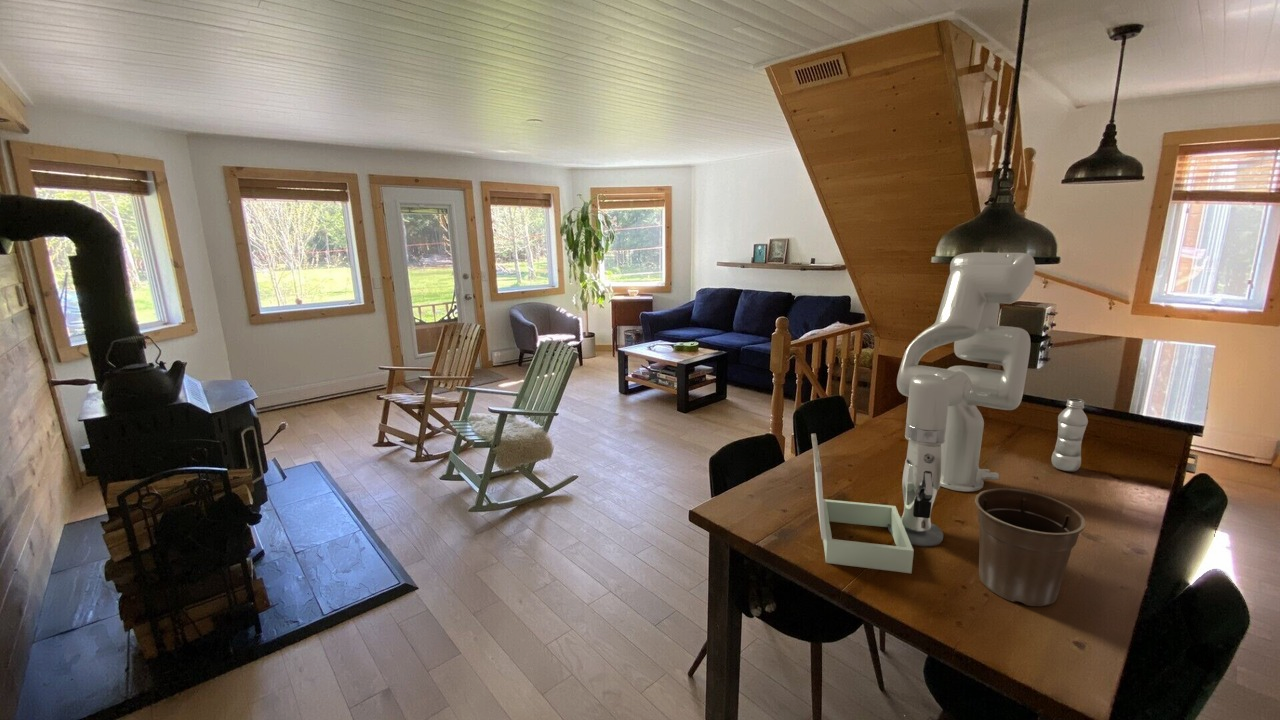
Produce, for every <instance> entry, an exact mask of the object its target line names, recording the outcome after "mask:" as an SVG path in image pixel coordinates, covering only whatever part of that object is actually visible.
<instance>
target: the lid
mask: <svg viewBox="0 0 1280 720" xmlns="http://www.w3.org/2000/svg"><path fill="white" fill-rule="evenodd" d="M810 436H811V437H810V438H811V444H812V451H813V454H812V455H813V466H814V483H815V494H816V503H817V504H816V505H817V506H816V507H817V512H818V514H817V515H818V520H819V528H820V538H821V540H822V541H823V540H826V535H825V520H824V504H823V499H824V493H823V477H822V475H823V474H822V464H821V459H820V451H819V445H818V440H817V439H818V438H817V434H816V433H811V434H810Z"/></svg>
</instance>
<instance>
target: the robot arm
mask: <svg viewBox="0 0 1280 720" xmlns="http://www.w3.org/2000/svg"><path fill="white" fill-rule="evenodd" d="M1035 272H1036V261H1035V259H1034V257H1033V255H1031V254H1029V253H1026V252H988V251H987V252H985V251H983V252H982V251H981V252H980V251H979V252H978V251H977V252H976V251H975V252H966V253H961V254H960V253H959V254H957V255H955V256H954V257H953V258H951V261H950V265H949V276H948V277H947V281H946V286H945V288H944V292H943V294H942V298H941V301H940V305H939V309H938V313H937V316H936V319H935V322H934V323H933V324H932V325H930V326H929V327H927V328H926V329H924V330H923V331H922V332H921V333H919V334H917V336H916V337H915V338H913V340H912V341H911V342H910V343H909V344H908V346H907V347H906V349H905V351H904V352H903V353H904V354H903V357H902V359H901V362H900V364H899V365H900V366H899V368H898V369H899V370H898V373H897V377H896V387H897V390H898V392H899V393H900V394H901V395H902V396H905V397H908V399H907V410H906V420H905V429H904V430H905V432H904V437H905V439H906V440H907V441H908V444H907V451H906V459H907V458H908V463H909V464H910V465H912V466H913V467H912V472H913V485H914V486H915V487H916V488H917V491H916V499H914V509H913V515H914V517H920V518H930V519H931V514H930V512H931V513H932V509H931V503H932V496H933V488H932V486H933V487H934V489H936V490H937V491H938V490H940V488H941V487H942V488H944V489H948V490H951V491H956V492H964V493H965V492H969V493H970V492H977V491H980V490H981V489H983V488H984V481H985V480H991V481H998V480H1000V475H999V472H995V471H994V472H991V471H990V469H989V468H988V469H987V468H980V467H979V465H980V464H979V463H980V458H981V447H982V441H983V433H984V426H985V421H984V418H983V415H982V413H981V411H980V410H979V408H978V406H979V407H985V408H990V409H998V410H1002V411H1003V410H1004V411H1012V410H1013V411H1014V410H1016V409H1017V408H1018V407H1019V406H1020V404H1021V402H1022V399H1023V396H1024V390H1025V385H1026V377H1027V371H1028V367H1029V361H1030V353H1031V347H1032V346H1031V336H1030V334H1029V333H1028V331H1027V330H1025V329H1024V328H1021V327H1017V326H1006V325H1005V326H1004V325H999V324H998V319H999V313H1000V310H1001V307H1000V306H1001V305H1000V304H1008V305H1009V304H1013V303H1016V302H1018V301H1019V300H1020V298H1021V297H1022V296H1023V295H1024V293H1025V292H1026V290H1027V288H1028V287H1029V286H1030V285H1031V283H1032V281H1033V278H1034V276H1035ZM951 343H953V352H954V354H955V356H956V357H957V358H959V359H961V360H965V361H969V362H977V363H985V364H991V365H1000V366H1002V368H1003V370H1000V369H994V368H993V369H991V368H985V367H979V366H970V365H953V366H950V367H948V368H941V367H937V366H935V367H934V366H929V365H928V366H927V365H921V364H920V365H919V362H920V360H921V359H922V357H924V355H926V354H927V353H928V352H929V351H931V350H933V349H935V348H939V347H941V346H944V345H947V344H951ZM923 479H924V486H919V483H920V484H921V482H922V481H923ZM932 483H933V484H932ZM920 489H925V490H924V493H921V495H920Z"/></svg>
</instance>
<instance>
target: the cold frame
mask: <svg viewBox="0 0 1280 720" xmlns="http://www.w3.org/2000/svg"><path fill="white" fill-rule="evenodd" d="M823 504H824V520H825V535H826V540H822V545H823V550H824V551H823V552H824V556H825V557H824V558H825V563H826V564H833V565H839V566H849V567H855V568H856V567H858V568H865V569H866V568H867V569H872V570H880V571H889V572H897V573H898V572H899V573H904V574H905V573H906V574H912V572H913V562H914V561H913V560H914V552H915V551H914V547H913V545H912V544H911V543H910V540H909V538H908V535H907V533H906V531H905V528H904V526H903V523H902V521H901V518H900V517H901V516H900V514H899V512H898V508H897V507H896V505H890V504H878V503H867V502H855V501H847V500H835V499H824V498H823ZM831 522H832V523H842V524H851V525H853V524H854V525H862V526H872V527H882V528H888V524H890V526H891V528H892V531H893V535H892V538H893V540H894V543H895V545H890V544H889V545H888V544H881V543H880V544H879V543H870V542H861V541H856V540H855V541H852V540H843V539H835V538H833V537H832V536H833V535H832V530H831V524H830V523H831Z"/></svg>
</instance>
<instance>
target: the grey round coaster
mask: <svg viewBox="0 0 1280 720" xmlns="http://www.w3.org/2000/svg"><path fill="white" fill-rule="evenodd" d="M900 518H902V516H900ZM904 528H905V527H904ZM887 530H888V532H889V534H891V536H893V531H892V528H891V526H890V524H888V527H887ZM905 531H906V533H907V535H908V538H909V540H910V543H911V545H912V546H917V547H935V546H938V545H940V544H941V543H942V542H943V541H944V531H942V529H941V528H940V527H939V526H937V524H934V523H933V522H931V529H930V530H929V531H927V532H916V531H912V530H909V529H907V528H905Z"/></svg>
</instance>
